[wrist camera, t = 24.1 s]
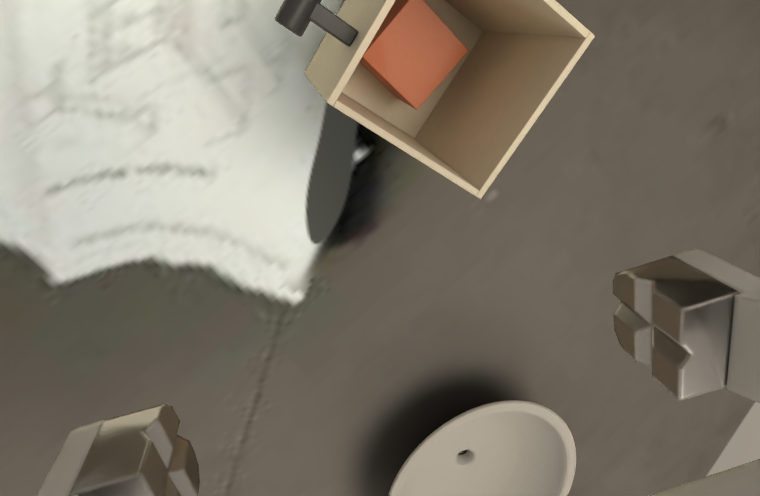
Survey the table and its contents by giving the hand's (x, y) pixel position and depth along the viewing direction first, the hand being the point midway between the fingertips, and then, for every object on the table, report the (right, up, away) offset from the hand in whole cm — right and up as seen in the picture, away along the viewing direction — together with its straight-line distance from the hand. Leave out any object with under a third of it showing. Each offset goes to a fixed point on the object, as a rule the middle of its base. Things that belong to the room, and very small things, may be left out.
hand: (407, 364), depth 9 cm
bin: (+5, +10, +18) cm, 21 cm away
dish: (+6, -15, +34) cm, 38 cm away
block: (+1, +14, +21) cm, 25 cm away
